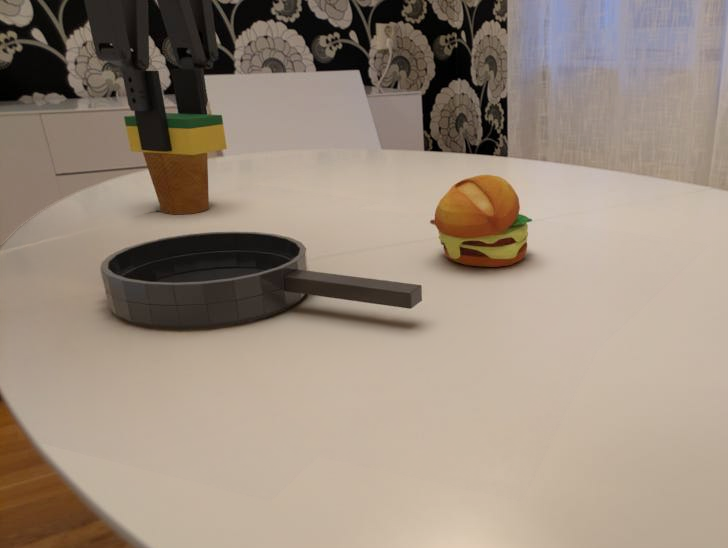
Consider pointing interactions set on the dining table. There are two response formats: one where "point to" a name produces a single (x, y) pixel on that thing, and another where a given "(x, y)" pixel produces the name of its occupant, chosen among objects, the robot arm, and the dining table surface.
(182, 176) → the disposable coffee cup
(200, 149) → the sponge
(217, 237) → the pan
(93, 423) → the dining table surface
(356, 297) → the pan handle
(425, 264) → the dining table surface
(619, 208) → the dining table surface
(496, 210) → the cheeseburger
